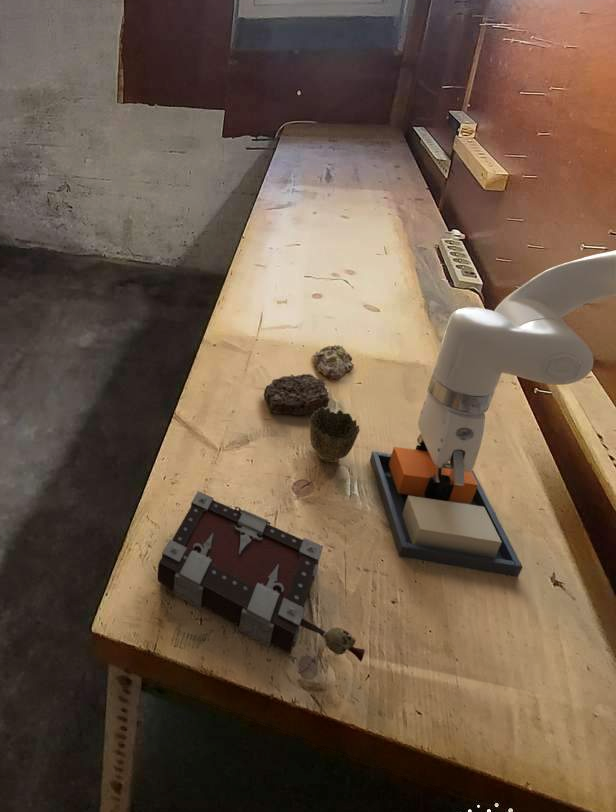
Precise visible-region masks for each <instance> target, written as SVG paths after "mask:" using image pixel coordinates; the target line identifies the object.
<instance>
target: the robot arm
mask: <svg viewBox="0 0 616 812" xmlns="http://www.w3.org/2000/svg"><path fill="white" fill-rule="evenodd" d="M614 297H616V249H615V250H611V251H607V252H602V253H597V254H592V255H588V256H584V257H582V258H579V259H575V260H572V261H568V262H564V263H561V264H558V265H556V266H553V267H550V268H548V269H546V270H544V271H543V272H540V273H539V274H537V275H535V276H534V277H532V278H531V279H530V280H528V281H526V282H525V283H523V284H522V285H521V286H520V287H518V288H517V289H515V290H514V291H513V292H511V293H509V295H507V296H506V297H505V298H504V299H503V300H501V302H499V304H498V305H497V306H496V307H495V309H494V310H491V309H488V308H484V307H474V306H468V307H462V308H459V309H456V310H455V311H453V313H451V314H450V316H449V318H448V321H447V325H446V328H445V331H444V334H443V338H442V341H441V344H440V346H439V347H440V348H439V350H438V353H437V356H436V360H435V363H434V367H433V370H432V373H431V377H430V380H429V383H428V385H427V394H426V397H425V400H424V402H423V405H422V407H421V410H420V414H419V418H418V423H417V426H418V430H419V433H420V434H419V435H418V436H417V438H416V439H417V444H416V447H415V450H421V451H428V452H429V454H430V456H431V458H432V460H433V462H434V463H435V467H434V476H433V477H430V479H429V482H428V485H427V488H426V491H425V494H424V495H425V497H426V498H429V499H435V500H442V501H449V498H450V496H451V493H452V490H453V487H454V486H456V485H457V486H464V484H465V482H464V471H467V472H471V471H472V470H473V471H474V467H475V465H476V462H477V460H478V459H477V458H478V455H479V451H480V449H481V445H482V442H483V441H482V440H483V436H484V431H485V426H486V425H485V424H486V414H485V413H487V412H488V411H489V408H490V405H491V402H492V399H493V397H494V394H495V392H496V389H497V386H498V383H499V382H500V381H499V380H500V378H501V376H502V373H503V374H506V375H511V376H514V377H518V378H522V379H525V380H529V381H532V382H536V383H539V384H540V383H541V384H544V385H552V386H553V385H554V386H561V385H562V386H563V385H571V384H574V383H578V382H580V381H581V380H583V379H585V378H586V377H587V376H588V375H589V374H590V373H591V372H592V370H593V367H594V362H595V361H594V356H593V353H592V351H591V349H590V348H589V346H588V345H587V343H586V342H585V341H584V339H582V338H581V336H579V334H577V332H576V331H574V330H573V329H572V328H571V327H570V325H569V324H568V323H567V322H566V321H564V319H563V318H564V317H565V316H567V315H569V314H570V313H571V312H573V311H574V310H576V309H578V308H580V307H582V306H584V305H587V304H589V303H592V302H594V301H595V302H596V301H598V300H602V299H605V298H614ZM449 460H450V462H448V461H449ZM442 468H449V469H451V474H450V475H441V471H442Z"/></svg>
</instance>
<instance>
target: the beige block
mask: <svg viewBox="0 0 616 812" xmlns="http://www.w3.org/2000/svg"><path fill="white" fill-rule="evenodd" d="M402 515H403V518H404V521H405V524H406V527H407V530H408V533H409V536H410V539H411V542H412V544H415V545H421V546H427V547H433V548H439V549H445V550H451V551H457V552H462V553H468V554H474V555H480V556H486V557H492V558H495V556H496V554H497V552H498V550H499V547H500V545H501V543H502V542H501V540H500V538H499V536H498V534H497V532H496V529H495V527H494V525H493V523H492V521H491V519H490V517H489V515H488V513H487V511H486V509H485V507H482V506H475V505H469V504H462V503H455V502H449V501H442V500H435V499H429V498H422V497H415V496H409V495H408V498H407V501H406V504H405V507H404V510H403V513H402Z"/></svg>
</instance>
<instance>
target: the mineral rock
mask: <svg viewBox="0 0 616 812" xmlns="http://www.w3.org/2000/svg"><path fill="white" fill-rule="evenodd" d="M314 353H315V354H313V355H312V358H313V363H314V365H315V367H316V368H317V372H319V373H321V374H323V376H324V377H325V378H328V379H329V380H334V379H336V380H339V379H342V378H343V377H344V376H345V374H346V372H351V371H352V370H353V369H354V366H355V364H354V363H353V358H352V356H351V355H350V354H349V353H348V352H347V350H346V349H345V348H344V347H343V346H342V345H339V344H338V345H337V344H334V345H328V346H326V347H323V348H321V349H320V351H316V352H314Z"/></svg>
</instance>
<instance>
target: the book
mask: <svg viewBox="0 0 616 812" xmlns="http://www.w3.org/2000/svg"><path fill="white" fill-rule="evenodd" d="M214 499H215V498H214V497H212V496H210V495H208V494H206V493H204V492H201V491H199V490H197V492H196V493H195V495H194V497H193V499H192V500H191V502H190V503H191V504H190V507H189V510H188V511H187V513H186V514H185V516H184V518H183V519H182V522H181V523H180V525H179V527H178V528H177V530H176V532H175V534H174V536H173V537H172V539H169V540H168V542H167V544H166V546H165V548H164V549H163V551H162V553H161V554H162V555H161V559H160V560H159V562H158V566H157V583H160V584H162V585H163V586H165V587H167V588H168V589H171V590H172V591H173V595H174V596H175V597H178V598H180V599H181V600H184V601H185V602H187V603H189V604H190V605H193V606H195V607H196V608H198V609H201V608H202V607H204V608H205V609H206V610H208V611H210V612H212V613H213V614H216V615H218V616H220V617H221V618H223V619H225V620H227V621H229V622H231V623H233V624H234V625H236V626H238V631H239V632H241V633H243V634H245V635H247V636H249V637H250V638H252V639H254V640H256V641H257V642H260V643H261V644H263V645H265V646H267V647H268V648H269V647H270V645H273V646H274V647H276V648H278V649H280V650H282V651H284V652H285V653H287V654H288V655H291V653H292V649H293V648H295V647H296V643H297V640H298V636H299V632H300V630H301V627H302V628H304V629H307V630H309V631H312V632H314V633H317V634H319V635H320V636H322V638H323V639H324V641H325V644H326V647H327V648H328V650H329V651H331V652H332V653H334V654H336V655H344V654H345V652H346V651H349V652H350V653H352V655H354V656H355V658H357V660H359V662H362V661H363V658H364V655H365V651H366V650H365V649H364V648H358V647H355V644H356V641H357V640H356V638H355V637H354V636H353V635H352V633H351V632H349V631H346V630H345V629H343V628H341V627H331V628H330V629H328V630H323V629H322V628H321V627H318V626H317V625H315V624H313V623H312V622H310V621H308V620H306V619H305V618H303V616H304V612H305V605H306V603H307V598H308V596H309V592H310V588H311V585H312V581H315V578H316V576H317V571H318V569H319V565H320V558H321V555H322V551H323V547H324V546H323V545H322V544H320V543H317V542H316V541H315V542H314V541H313V540H310V539H308V538H306V537H303V539H302V538H300V537H298V536H295V535H293V534H290V533H288V532H287V531H284V530H283V529H282V530H281V529H280V528H277V527H275V526H272V525H271V522H270V521H268V519H266V518H264V517H262V516H259V515H257V514H255V513H253V512H250V511H248V510H245V509H242V508H241V507H239V506H235V507H234V508H232V507H230V506H227V505H225V504H222V503H221V502H218V501H216V500H214Z"/></svg>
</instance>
